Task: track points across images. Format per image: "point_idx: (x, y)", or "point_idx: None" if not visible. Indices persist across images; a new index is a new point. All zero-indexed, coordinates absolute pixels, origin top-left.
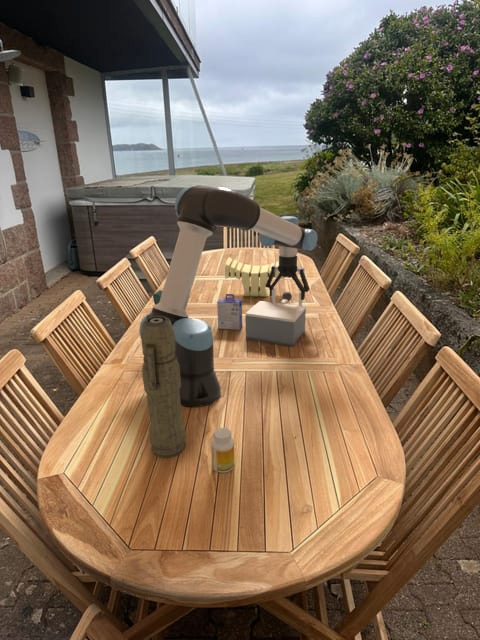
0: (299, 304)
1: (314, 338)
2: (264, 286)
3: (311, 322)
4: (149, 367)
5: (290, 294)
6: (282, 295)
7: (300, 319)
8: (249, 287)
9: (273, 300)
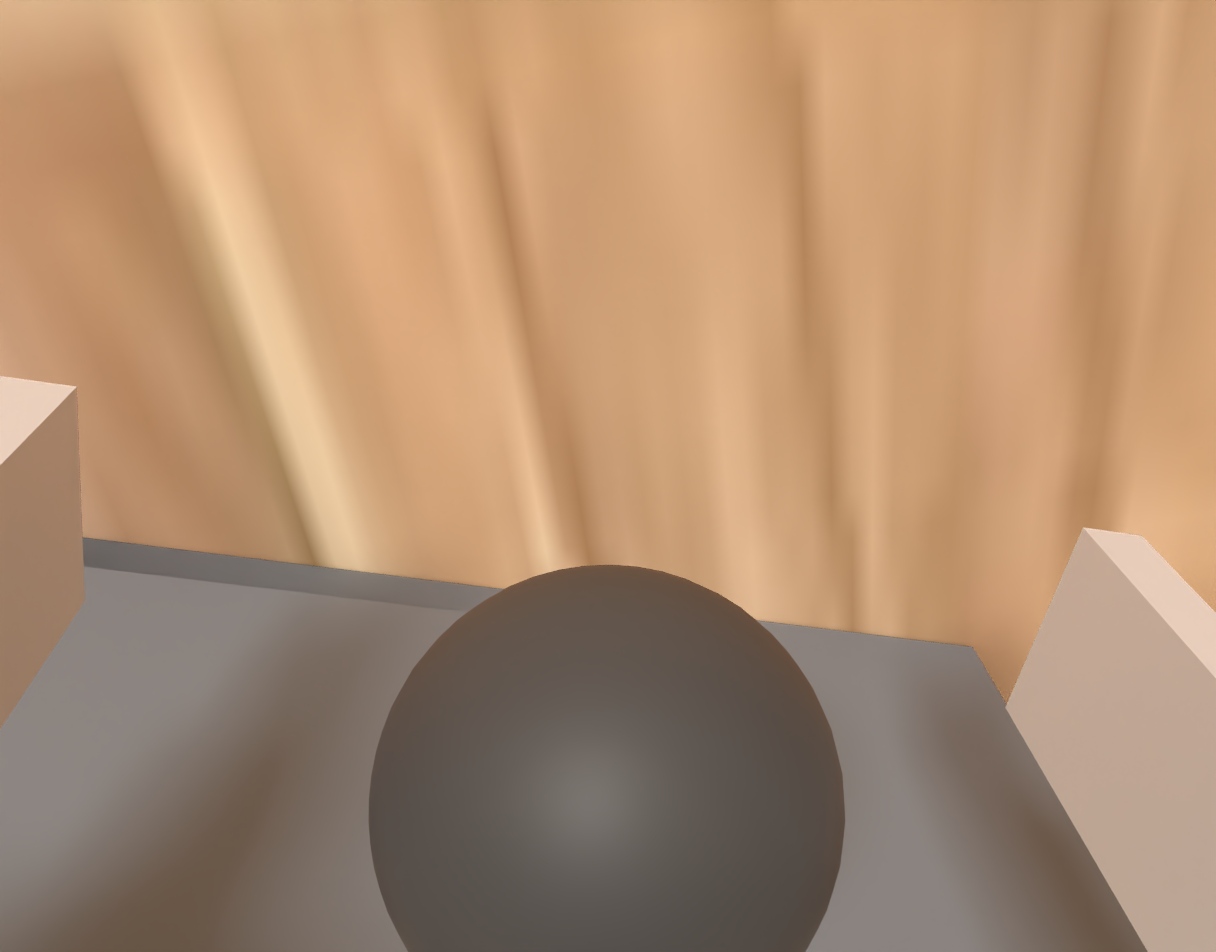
0: (1075, 787)
1: None
2: None
3: (1170, 148)
4: None
5: (806, 945)
6: (381, 886)
7: None
8: None
9: (21, 677)
